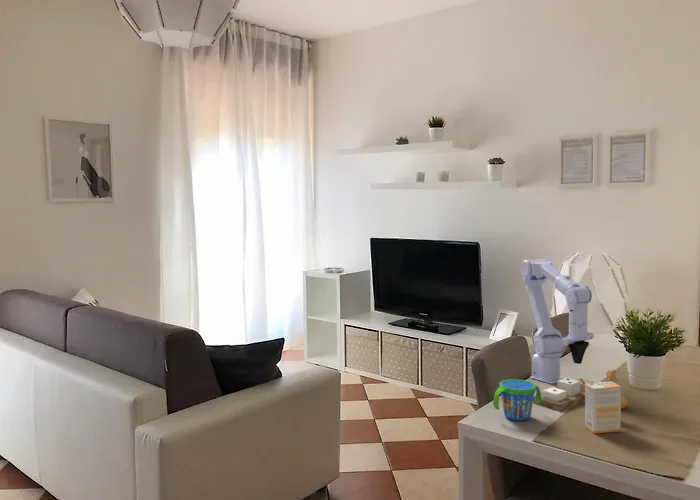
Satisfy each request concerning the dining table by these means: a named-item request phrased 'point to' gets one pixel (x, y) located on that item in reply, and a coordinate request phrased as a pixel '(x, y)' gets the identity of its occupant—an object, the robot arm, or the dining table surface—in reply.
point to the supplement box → (602, 407)
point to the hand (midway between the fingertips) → (577, 362)
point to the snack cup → (517, 398)
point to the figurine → (612, 379)
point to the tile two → (569, 386)
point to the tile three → (583, 383)
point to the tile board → (562, 401)
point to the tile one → (554, 394)
